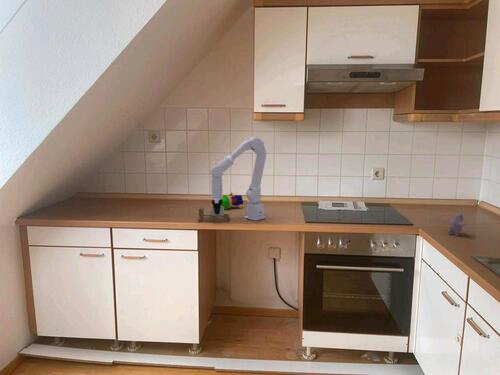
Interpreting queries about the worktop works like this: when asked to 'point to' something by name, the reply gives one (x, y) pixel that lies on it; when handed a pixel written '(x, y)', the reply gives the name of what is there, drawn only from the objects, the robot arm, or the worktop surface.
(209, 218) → the sill track
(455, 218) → the figurine
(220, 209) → the grey rectangular block
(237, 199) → the toy
